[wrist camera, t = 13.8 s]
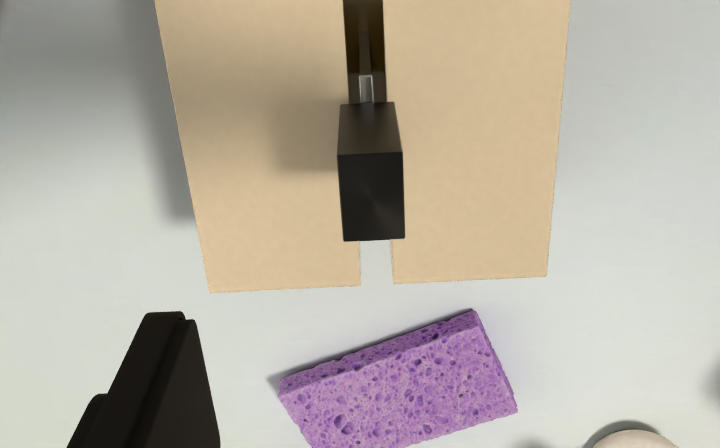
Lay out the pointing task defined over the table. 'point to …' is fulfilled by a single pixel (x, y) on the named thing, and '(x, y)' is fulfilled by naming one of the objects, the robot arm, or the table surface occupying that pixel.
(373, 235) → the knife
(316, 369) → the sponge
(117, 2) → the table surface
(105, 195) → the table surface
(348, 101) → the cake
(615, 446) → the figurine
